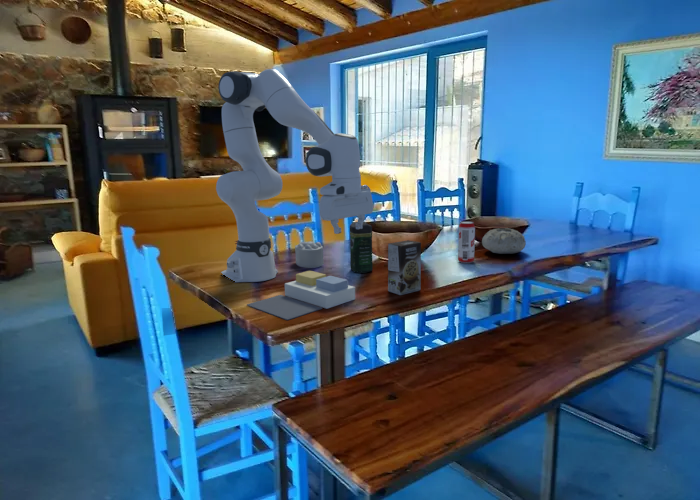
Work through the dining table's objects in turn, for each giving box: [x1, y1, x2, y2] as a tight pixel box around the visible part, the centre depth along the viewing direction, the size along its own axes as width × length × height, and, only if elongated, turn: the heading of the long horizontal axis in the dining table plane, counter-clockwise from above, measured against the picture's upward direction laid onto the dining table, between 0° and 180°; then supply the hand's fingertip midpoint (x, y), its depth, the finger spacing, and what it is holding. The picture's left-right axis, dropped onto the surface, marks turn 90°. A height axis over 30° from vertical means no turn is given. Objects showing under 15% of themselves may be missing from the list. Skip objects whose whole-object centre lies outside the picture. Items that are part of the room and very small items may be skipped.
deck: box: [284, 280, 356, 309], centre depth 162 cm, size 20×12×4 cm, turn 45°
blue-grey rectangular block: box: [316, 275, 349, 292], centre depth 159 cm, size 8×6×2 cm
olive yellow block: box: [295, 270, 327, 286], centre depth 166 cm, size 8×6×2 cm
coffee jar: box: [349, 221, 374, 274], centre depth 192 cm, size 10×8×19 cm
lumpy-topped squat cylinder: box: [294, 241, 324, 269], centre depth 205 cm, size 10×13×9 cm
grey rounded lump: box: [481, 227, 527, 255], centre depth 216 cm, size 18×18×10 cm
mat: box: [246, 294, 323, 321], centre depth 154 cm, size 20×13×1 cm, turn 45°
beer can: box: [457, 220, 476, 264], centre depth 201 cm, size 6×6×16 cm
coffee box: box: [387, 239, 422, 296], centre depth 166 cm, size 9×6×16 cm
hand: (348, 231), depth 161 cm, fingers open, 8 cm apart
